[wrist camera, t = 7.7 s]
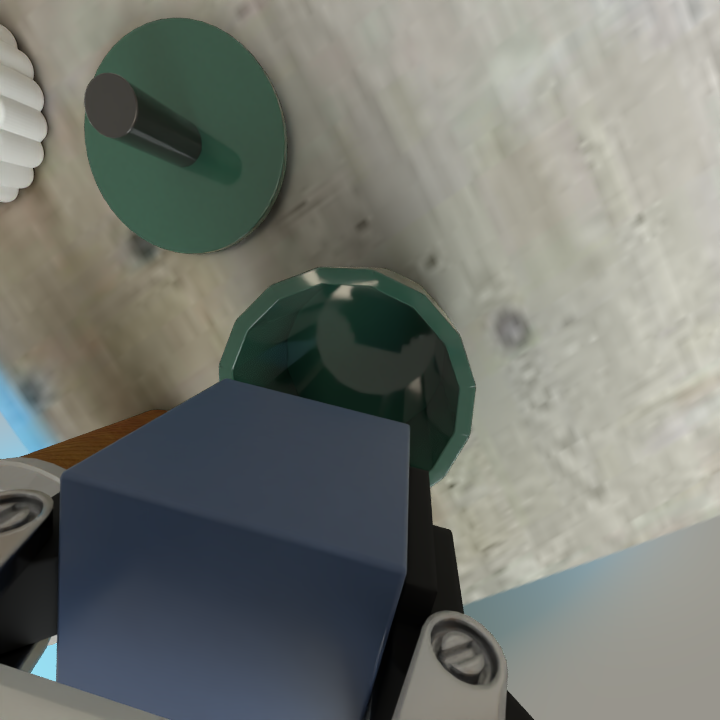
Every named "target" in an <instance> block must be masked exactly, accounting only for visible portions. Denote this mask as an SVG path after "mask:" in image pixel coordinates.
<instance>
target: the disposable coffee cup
mask: <svg viewBox="0 0 720 720" xmlns="http://www.w3.org/2000/svg"><path fill="white" fill-rule="evenodd" d="M166 412H168V411H165V410H150V411H147V412H144V413H142V414H139V415H136V416H134V417H131V418H128V419H125V420H123V421H120V422H117V423H114V424H111V425H109V426H105V427H103V428H100V429H97V430H94V431H92V432H89V433H86V434H83V435H80V436H77V437H75V438H72V439H69V440H66V441H64V442H61V443H58V444H55V445H52V446H49V447H47V448H44V449H41V450H38V451H35V452H33V453H30V454H28V455H24V456H21V457H16V458H7V459H0V491H7V490H14V489H31V490H37V491H42V492H44V493H46V494H48V495H49V496H50V497H52V496H54V495H56V494H57V493H59V492H60V477H61V475H62V473H63V472H64V471H65V470H67V469H69V468H70V467H72V466H74V465H76V464H77V463H79V462H81V461H83V460H84V459H86V458H88V457H90V456H91V455H93V454H95V453H96V452H98V451H100V450H102V449H103V448H105V447H107V446H109V445H110V444H112V443H114V442H116V441H117V440H119V439H121V438H122V437H124V436H126V435H128V434H129V433H131V432H133V431H135V430H136V429H138V428H140V427H142V426H143V425H145V424H147V423H149V422H150V421H152V420H154V419H155V418H157V417H159V416H161V415H162V414H164V413H166ZM55 643H57V635H55V636H52V637H51V639H50V641H49V643H48V645H53V644H55Z"/></svg>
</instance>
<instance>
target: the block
mask: <svg viewBox="0 0 720 720" xmlns="http://www.w3.org/2000/svg"><path fill="white" fill-rule="evenodd" d="M409 452H410V426H409V425H408V424H405V423H401V422H397V421H393V420H389V419H385V418H381V417H377V416H373V415H369V414H365V413H362V412H358V411H354V410H350V409H346V408H342V407H338V406H334V405H330V404H326V403H322V402H318V401H314V400H310V399H306V398H302V397H298V396H294V395H290V394H286V393H282V392H279V391H275V390H271V389H267V388H263V387H259V386H255V385H251V384H247V383H243V382H239V381H235V380H231V379H227V378H226V379H223V380H221V381H220V382H218V383H216V384H214V385H213V386H211V387H209V388H207V389H206V390H204V391H202V392H201V393H199V394H197V395H195V396H194V397H192V398H190V399H188V400H187V401H185V402H183V403H181V404H180V405H178V406H176V407H175V408H173V409H171V410H169V411H168V412H166V413H164V414H162V415H161V416H159V417H157V418H155V419H154V420H152V421H150V422H149V423H147V424H145V425H143V426H142V427H140V428H138V429H136V430H135V431H133V432H131V433H129V434H128V435H126V436H124V437H122V438H121V439H119V440H117V441H116V442H114V443H112V444H110V445H109V446H107V447H105V448H103V449H102V450H100V451H98V452H96V453H95V454H93V455H91V456H90V457H88V458H86V459H84V460H83V461H81V462H79V463H77V464H76V465H74V466H72V467H70V468H69V469H67V470H65V471H64V472H63V473H62V475H61V477H60V513H59V565H58V618H57V670H56V682H58V683H61V684H64V685H67V686H70V687H73V688H76V689H79V690H82V691H85V692H88V693H91V694H94V695H97V696H100V697H103V698H106V699H109V700H112V701H115V702H118V703H121V704H124V705H127V706H130V707H133V708H136V709H139V710H142V711H145V712H148V713H151V714H154V715H157V716H160V717H163V718H166V719H169V720H364V716H365V713H366V709H367V706H368V703H369V699H370V696H371V693H372V689H373V686H374V682H375V679H376V676H377V672H378V669H379V665H380V662H381V659H382V655H383V652H384V648H385V645H386V642H387V638H388V635H389V631H390V628H391V625H392V621H393V618H394V615H395V611H396V608H397V604H398V601H399V598H400V594H401V591H402V587H403V584H404V581H405V577H406V574H407V546H408V499H409Z"/></svg>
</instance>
